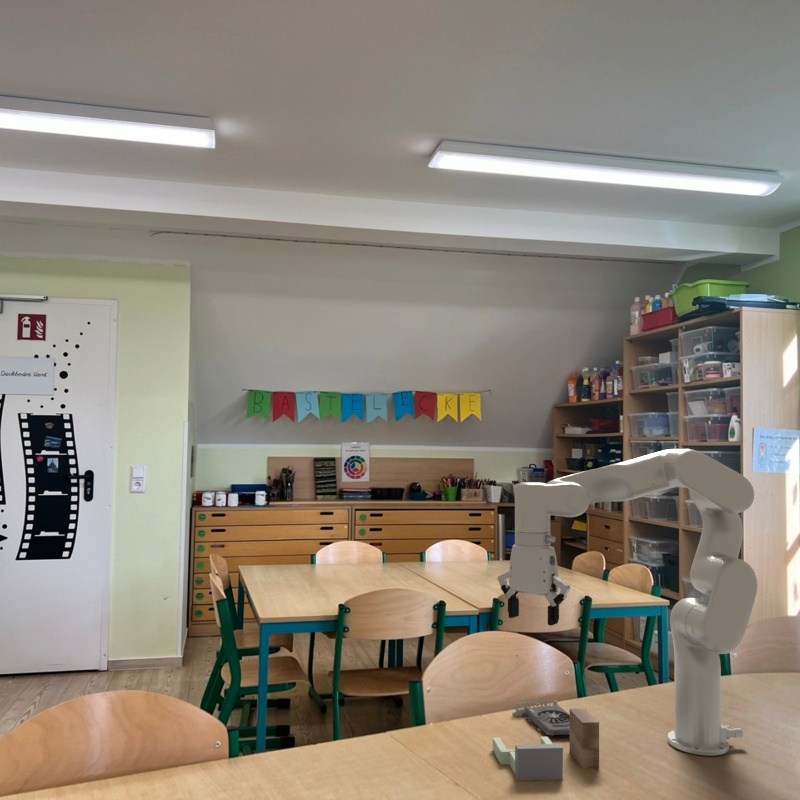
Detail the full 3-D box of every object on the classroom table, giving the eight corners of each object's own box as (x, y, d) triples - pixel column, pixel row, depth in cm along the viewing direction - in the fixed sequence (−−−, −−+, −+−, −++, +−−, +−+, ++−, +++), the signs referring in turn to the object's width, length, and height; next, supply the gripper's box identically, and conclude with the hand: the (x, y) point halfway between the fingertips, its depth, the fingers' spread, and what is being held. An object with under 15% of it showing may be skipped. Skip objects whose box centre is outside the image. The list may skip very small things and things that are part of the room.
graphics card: (510, 702, 180) (556, 698, 183) (510, 717, 180) (556, 713, 183) (538, 728, 164) (588, 723, 167) (538, 745, 164) (588, 740, 166)
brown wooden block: (585, 751, 159) (585, 708, 159) (599, 767, 151) (599, 722, 151) (569, 752, 158) (569, 708, 159) (582, 768, 150) (582, 722, 151)
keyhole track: (547, 748, 160) (547, 719, 160) (570, 779, 145) (570, 747, 145) (492, 749, 159) (492, 720, 159) (510, 780, 144) (510, 749, 144)
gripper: (577, 541, 157) (578, 624, 156) (508, 535, 169) (508, 611, 167) (559, 545, 151) (560, 630, 150) (489, 538, 163) (489, 617, 162)
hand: (532, 620), depth 159 cm, fingers open, 9 cm apart
